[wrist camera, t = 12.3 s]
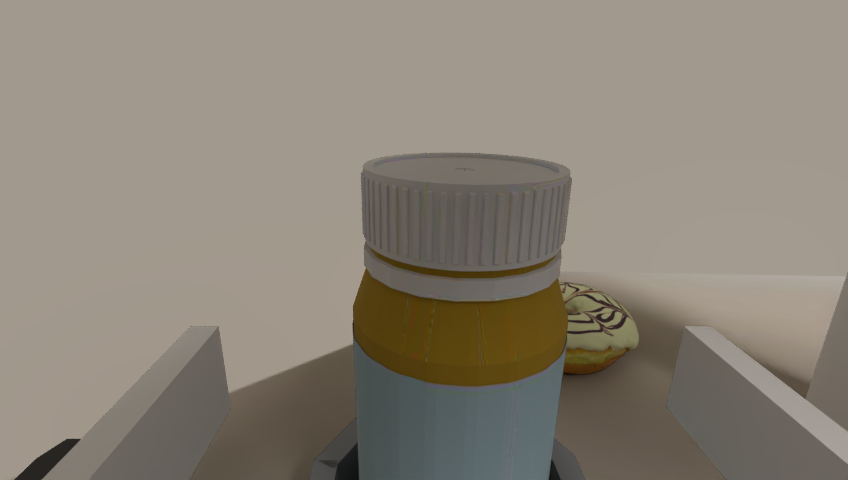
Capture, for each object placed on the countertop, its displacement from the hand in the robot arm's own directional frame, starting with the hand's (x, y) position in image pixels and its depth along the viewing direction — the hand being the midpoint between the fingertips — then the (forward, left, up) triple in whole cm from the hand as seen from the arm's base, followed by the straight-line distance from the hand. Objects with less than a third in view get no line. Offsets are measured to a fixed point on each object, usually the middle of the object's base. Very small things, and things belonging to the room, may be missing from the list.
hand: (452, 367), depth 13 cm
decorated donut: (-10, -18, -11) cm, 24 cm away
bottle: (0, -2, -10) cm, 10 cm away
